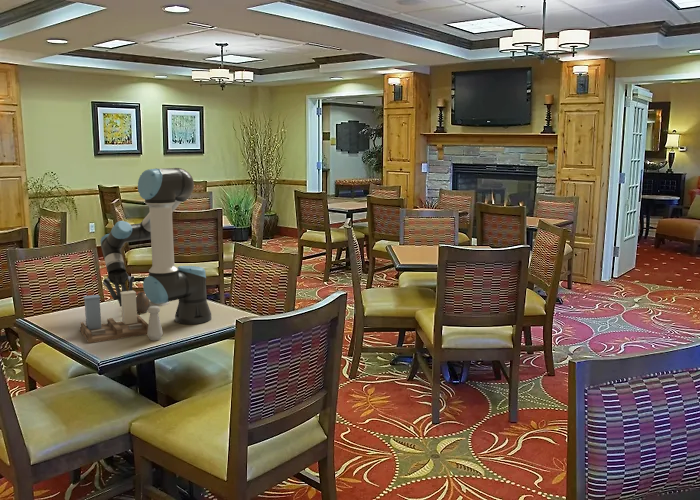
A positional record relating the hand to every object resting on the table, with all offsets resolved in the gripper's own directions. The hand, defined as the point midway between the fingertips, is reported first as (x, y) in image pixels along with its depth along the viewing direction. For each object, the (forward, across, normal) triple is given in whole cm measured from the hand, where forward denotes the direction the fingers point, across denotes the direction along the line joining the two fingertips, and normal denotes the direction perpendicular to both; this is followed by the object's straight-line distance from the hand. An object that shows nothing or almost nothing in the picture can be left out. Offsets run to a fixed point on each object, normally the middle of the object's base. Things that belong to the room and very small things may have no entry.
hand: (126, 311), depth 260 cm
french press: (-15, -20, -23) cm, 34 cm away
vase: (-7, -10, -15) cm, 19 cm away
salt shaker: (+23, -4, +15) cm, 28 cm away
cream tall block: (+6, 0, +1) cm, 6 cm away
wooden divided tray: (+11, +7, +3) cm, 13 cm away
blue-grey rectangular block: (+6, +14, +1) cm, 15 cm away
